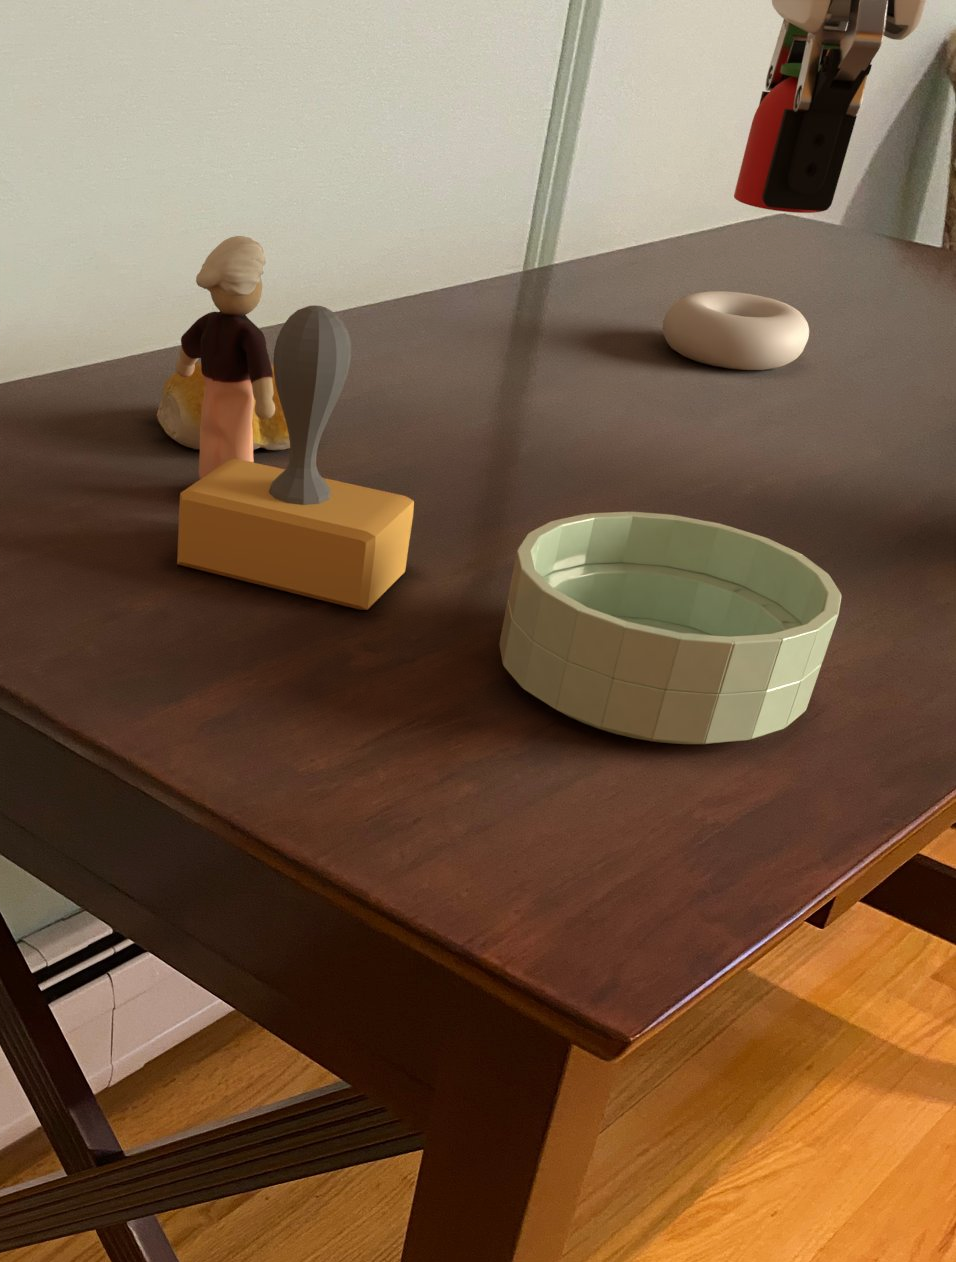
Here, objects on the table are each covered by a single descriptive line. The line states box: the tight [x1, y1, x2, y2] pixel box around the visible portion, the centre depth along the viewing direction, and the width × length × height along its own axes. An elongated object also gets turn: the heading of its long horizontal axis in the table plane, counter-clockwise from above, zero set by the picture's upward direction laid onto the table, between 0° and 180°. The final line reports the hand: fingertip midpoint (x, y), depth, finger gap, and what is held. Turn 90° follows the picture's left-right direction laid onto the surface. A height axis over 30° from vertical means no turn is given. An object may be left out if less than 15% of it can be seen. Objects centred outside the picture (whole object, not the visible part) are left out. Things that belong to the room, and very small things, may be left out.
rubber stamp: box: [176, 304, 415, 611], centre depth 69 cm, size 10×6×12 cm, turn 64°
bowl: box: [498, 511, 843, 745], centre depth 64 cm, size 13×13×5 cm
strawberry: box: [733, 63, 823, 214], centre depth 72 cm, size 5×5×6 cm
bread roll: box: [156, 363, 290, 451], centre depth 87 cm, size 8×9×4 cm
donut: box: [662, 290, 810, 371], centre depth 105 cm, size 10×4×10 cm
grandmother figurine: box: [175, 235, 275, 480], centre depth 76 cm, size 8×4×13 cm, turn 48°
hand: (784, 191), depth 74 cm, fingers closed on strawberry, 4 cm apart
